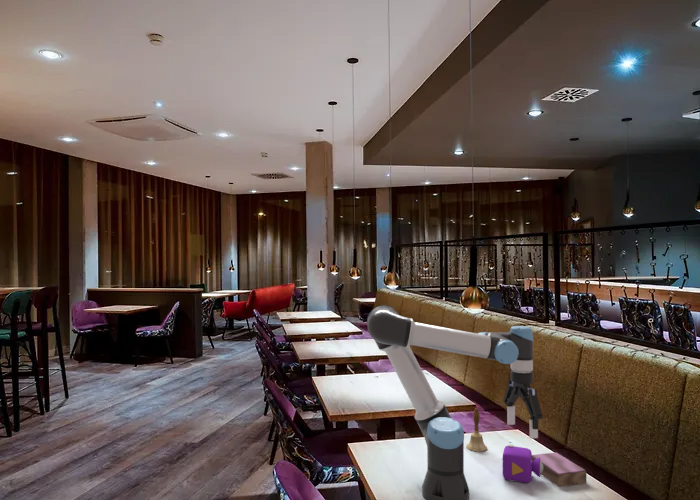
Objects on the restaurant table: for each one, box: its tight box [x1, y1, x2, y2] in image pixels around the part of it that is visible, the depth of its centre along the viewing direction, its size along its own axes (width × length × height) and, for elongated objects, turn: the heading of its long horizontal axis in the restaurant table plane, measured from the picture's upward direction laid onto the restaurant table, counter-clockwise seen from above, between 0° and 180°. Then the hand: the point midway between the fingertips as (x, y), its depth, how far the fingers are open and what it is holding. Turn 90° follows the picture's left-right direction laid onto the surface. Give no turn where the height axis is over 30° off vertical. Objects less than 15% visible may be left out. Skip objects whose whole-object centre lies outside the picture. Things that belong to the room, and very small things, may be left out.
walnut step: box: [532, 451, 587, 488], centre depth 174 cm, size 11×16×4 cm
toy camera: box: [502, 444, 543, 484], centre depth 172 cm, size 11×14×10 cm
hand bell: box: [465, 407, 488, 453], centre depth 199 cm, size 8×8×16 cm
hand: (522, 431), depth 172 cm, fingers open, 13 cm apart
